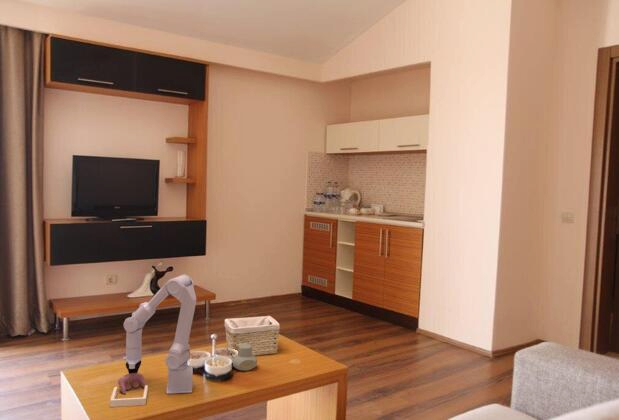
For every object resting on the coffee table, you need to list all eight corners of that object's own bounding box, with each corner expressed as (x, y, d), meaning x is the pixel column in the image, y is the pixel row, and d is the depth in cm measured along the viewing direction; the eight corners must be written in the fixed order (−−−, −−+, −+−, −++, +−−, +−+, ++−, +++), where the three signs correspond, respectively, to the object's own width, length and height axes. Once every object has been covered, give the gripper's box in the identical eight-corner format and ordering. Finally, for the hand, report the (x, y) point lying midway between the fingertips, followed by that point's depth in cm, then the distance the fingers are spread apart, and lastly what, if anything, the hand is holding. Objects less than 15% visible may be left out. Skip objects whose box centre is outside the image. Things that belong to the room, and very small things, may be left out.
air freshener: (234, 373, 221) (235, 350, 221) (229, 366, 229) (230, 344, 228) (259, 370, 226) (260, 347, 225) (253, 363, 233) (254, 341, 233)
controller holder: (147, 391, 200) (147, 385, 199) (145, 404, 188) (145, 398, 188) (114, 393, 197) (114, 386, 197) (110, 407, 185) (110, 400, 185)
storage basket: (230, 359, 238) (231, 327, 237) (222, 348, 253) (223, 318, 252) (280, 354, 246) (281, 324, 246) (270, 344, 262) (271, 315, 261)
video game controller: (143, 389, 205) (139, 371, 207) (148, 387, 202) (144, 369, 204) (118, 395, 198) (115, 377, 200) (123, 394, 195) (120, 375, 197)
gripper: (125, 340, 211) (124, 373, 212) (120, 352, 197) (120, 388, 198) (143, 340, 213) (142, 373, 214) (140, 352, 199) (139, 387, 200)
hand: (133, 380), depth 206 cm, fingers closed
